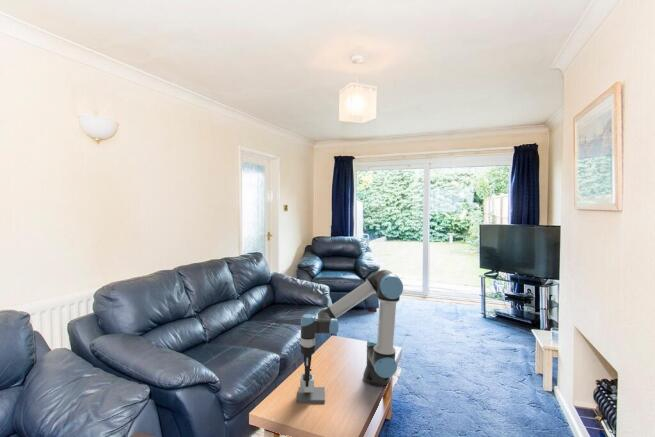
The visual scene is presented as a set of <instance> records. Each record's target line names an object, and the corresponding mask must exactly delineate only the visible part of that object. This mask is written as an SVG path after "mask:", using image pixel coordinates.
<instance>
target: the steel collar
mask: <svg viewBox="0 0 655 437" xmlns="http://www.w3.org/2000/svg"><path fill="white" fill-rule="evenodd" d="M303 379H305V373H300V379H299V381H300V382H299V383H300V384H299V387H300V392H304V380H303ZM314 387H315V373H310V392H314Z"/></svg>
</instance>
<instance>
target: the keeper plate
mask: <svg viewBox="0 0 655 437" xmlns="http://www.w3.org/2000/svg"><path fill="white" fill-rule="evenodd" d="M325 397H326V391H325V386H314V392H310V394H309V395H306V394H305V392H300V386H299V387H298V391H297V399H296V403H297V404H325V403H326V400H325V399H326V398H325Z"/></svg>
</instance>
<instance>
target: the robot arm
mask: <svg viewBox="0 0 655 437" xmlns="http://www.w3.org/2000/svg"><path fill="white" fill-rule="evenodd" d="M403 292H404V285H403V281H402V279H401V278H400V277H399V276H398V275H397V274H394V273H393V272H391V270H387V269H381V270H379V271H378V270H377V272H375V273H373V274H372V275H371V276H369V277H367V278H366V279H365V282H363V283H362V284H360V285H358V287H356V288H354V289H353V290H351V291H350V292H349V293H347V294H345V295H344V296H343V297H340V299H338V300H337V301H336V302H334V303H332V304H331V305H329V306H328V307H325V308H321V309H319V311H318V312H317V317H316V316H315V315H314V314H311V313H305V314H303V315H301V318H300V338H299V341H300V353H301V354H302V355H303V361H304V362H303V366H304V374H305V379H303V380H304V392H310V374H311V372H312V368H311V365H312V355H314V354H315V353H316V352H315V351H316V335H320V334H321V335H326V334H329V335H332V334H337V333H338V332H339V320H338V318H339V317H340V316H342V315H343V314H345V313H347V311H349V310H351V309H352V308H354V307H355V306H356V305H358V304H359V303H362V301H364V300H366V299H367V298H368V297H370V296H372V295H373V294H377V295H376V297H377V298H376V299H377V300H378V302H379V308H378V321H377V322H378V323H377V336H376V338H370V339H367V342H366V366H365V369H364V371H363V376H362V377H363V378H362V379H363V381H364V382H365V383H366V384H367V385H369V386H374V387H384V386H386V385H389V383H390V382H391V377H392V376H393V375H395V374H396V372H397V370H398V364H397V361H396V348H395V347H394V338H395V337H394V336H395V324H396V323H395V322H396V313H397V312H396V311H397V303H398V302H400V297H401V295H402V294H403Z"/></svg>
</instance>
